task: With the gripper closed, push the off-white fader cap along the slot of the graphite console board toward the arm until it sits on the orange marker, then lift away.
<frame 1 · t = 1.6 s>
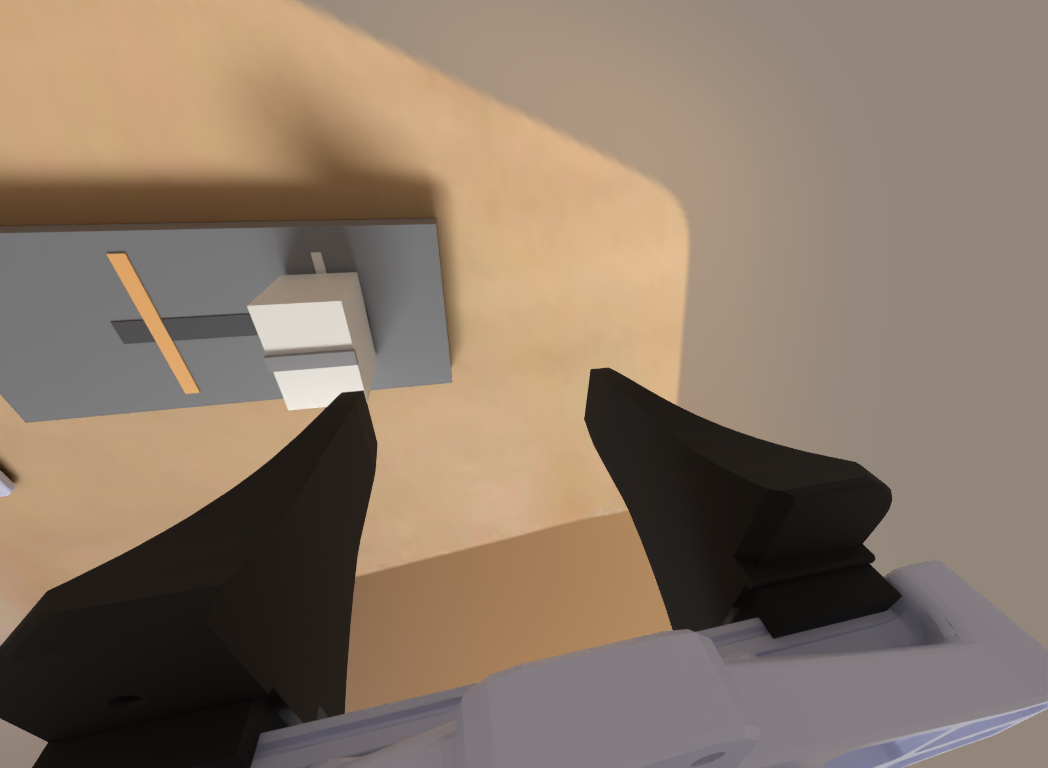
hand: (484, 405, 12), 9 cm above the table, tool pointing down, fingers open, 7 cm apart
console: (239, 313, 18), on the table
fader: (323, 340, 16), point 4 cm above the table, slide at 0.0 cm
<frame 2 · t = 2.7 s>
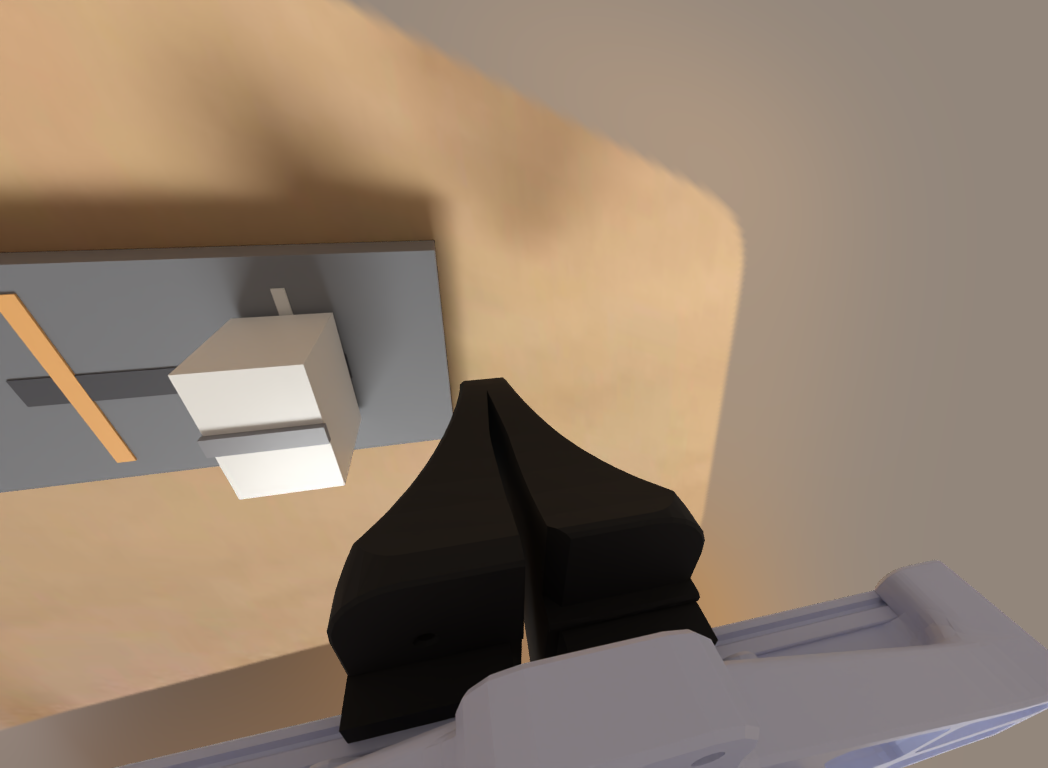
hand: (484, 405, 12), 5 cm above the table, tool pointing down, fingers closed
console: (185, 360, 14), on the table
fader: (287, 403, 12), point 4 cm above the table, slide at 0.0 cm
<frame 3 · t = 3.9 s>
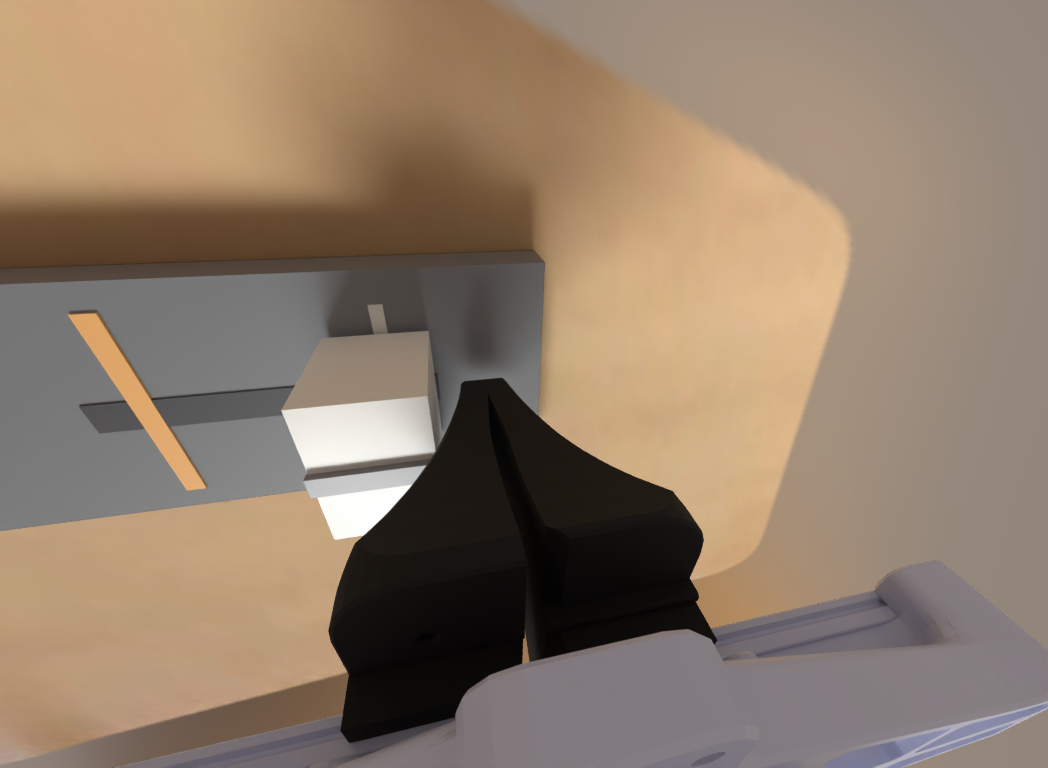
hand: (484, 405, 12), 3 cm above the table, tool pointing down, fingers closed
console: (260, 379, 13), on the table
fader: (383, 432, 11), point 4 cm above the table, slide at 0.1 cm, touching gripper
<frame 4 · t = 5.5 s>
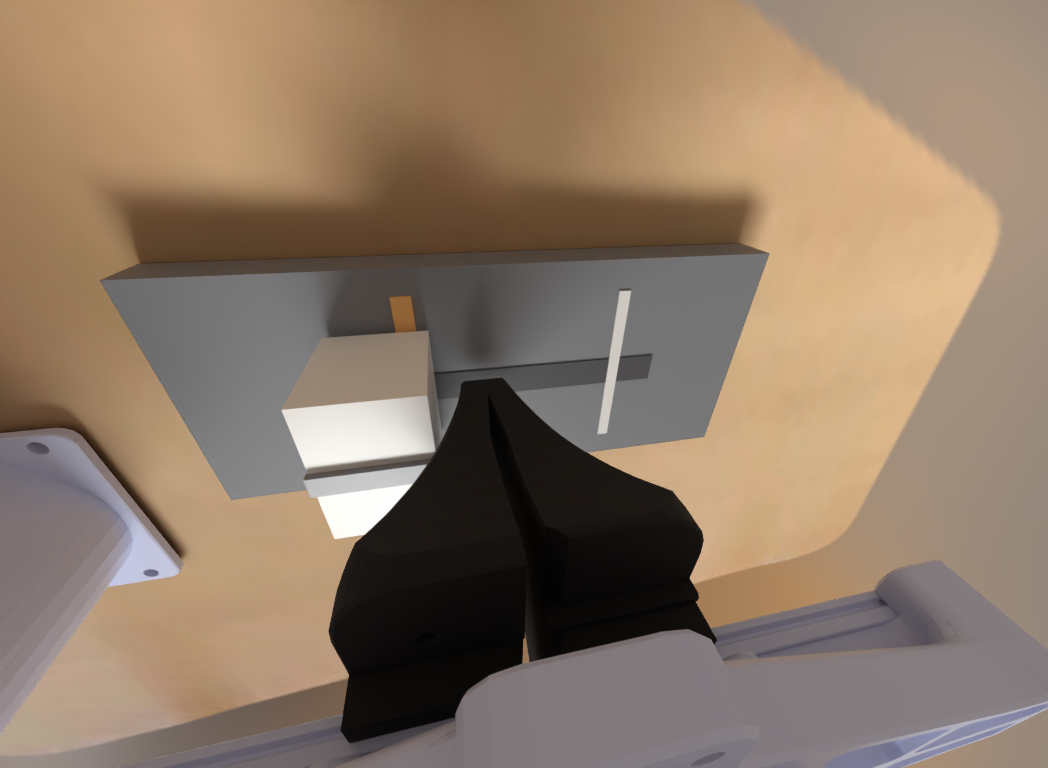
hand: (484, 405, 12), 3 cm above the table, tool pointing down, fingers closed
console: (485, 360, 14), on the table
fader: (383, 432, 11), point 4 cm above the table, slide at 7.8 cm, touching gripper
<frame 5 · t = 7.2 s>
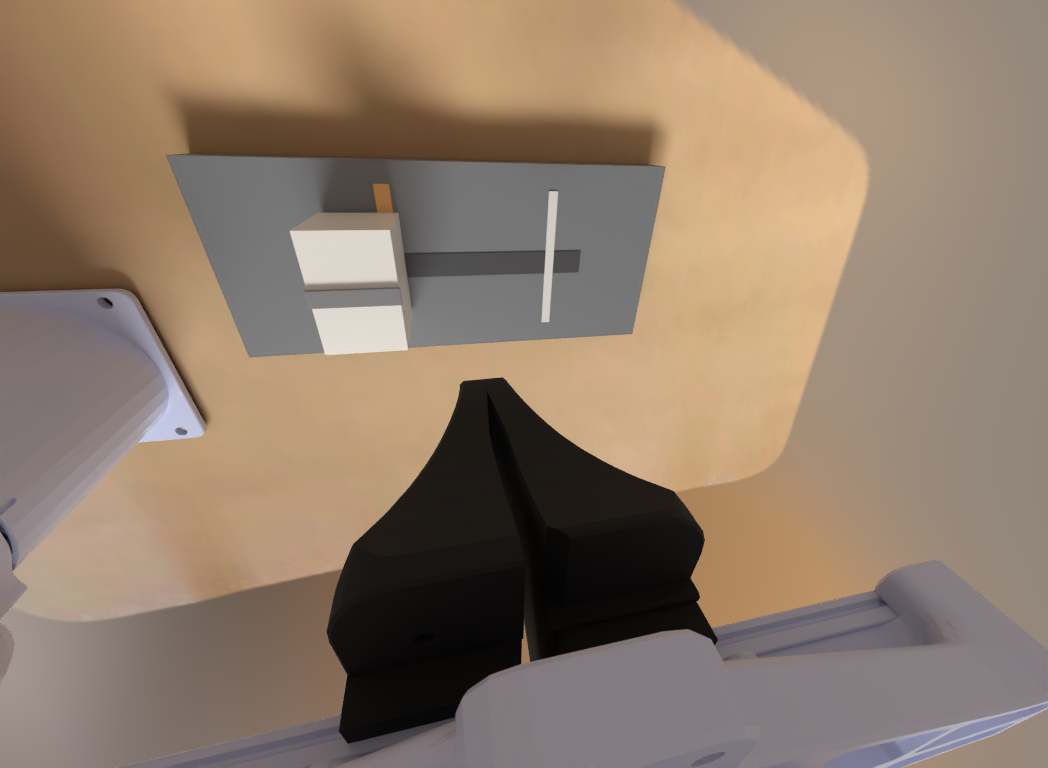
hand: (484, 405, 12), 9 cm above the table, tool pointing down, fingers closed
console: (450, 256, 18), on the table
fader: (362, 282, 15), point 4 cm above the table, slide at 8.0 cm
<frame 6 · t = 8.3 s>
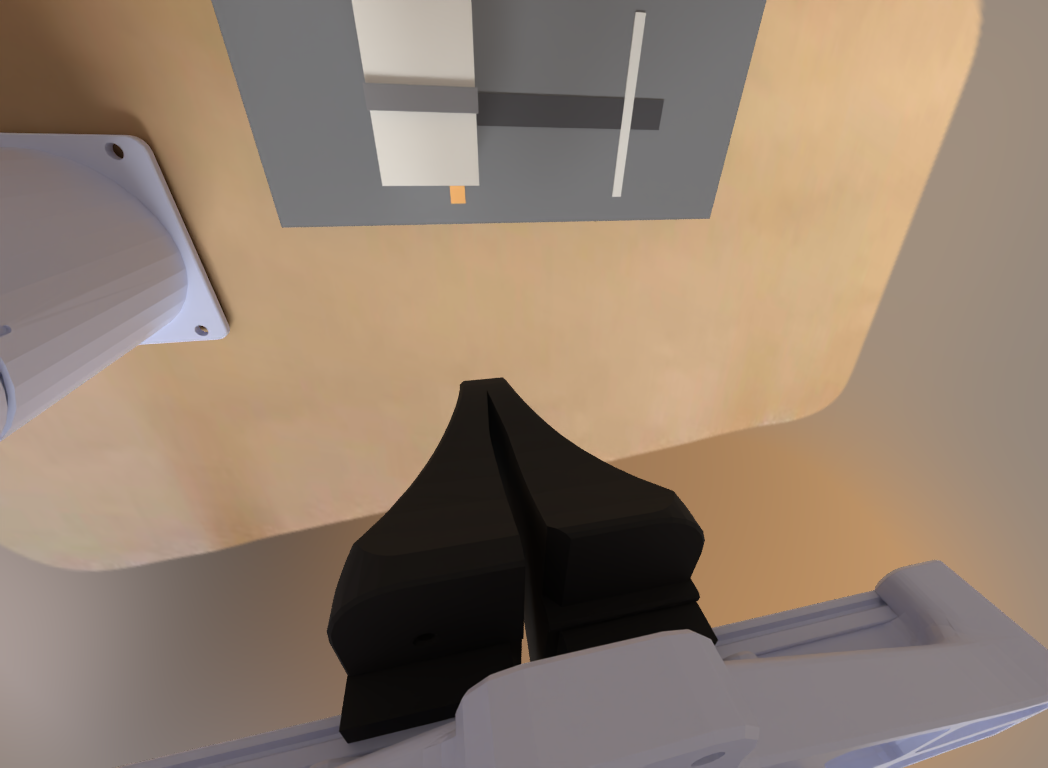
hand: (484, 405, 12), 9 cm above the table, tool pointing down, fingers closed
console: (510, 113, 16), on the table
fader: (424, 103, 12), point 4 cm above the table, slide at 8.0 cm
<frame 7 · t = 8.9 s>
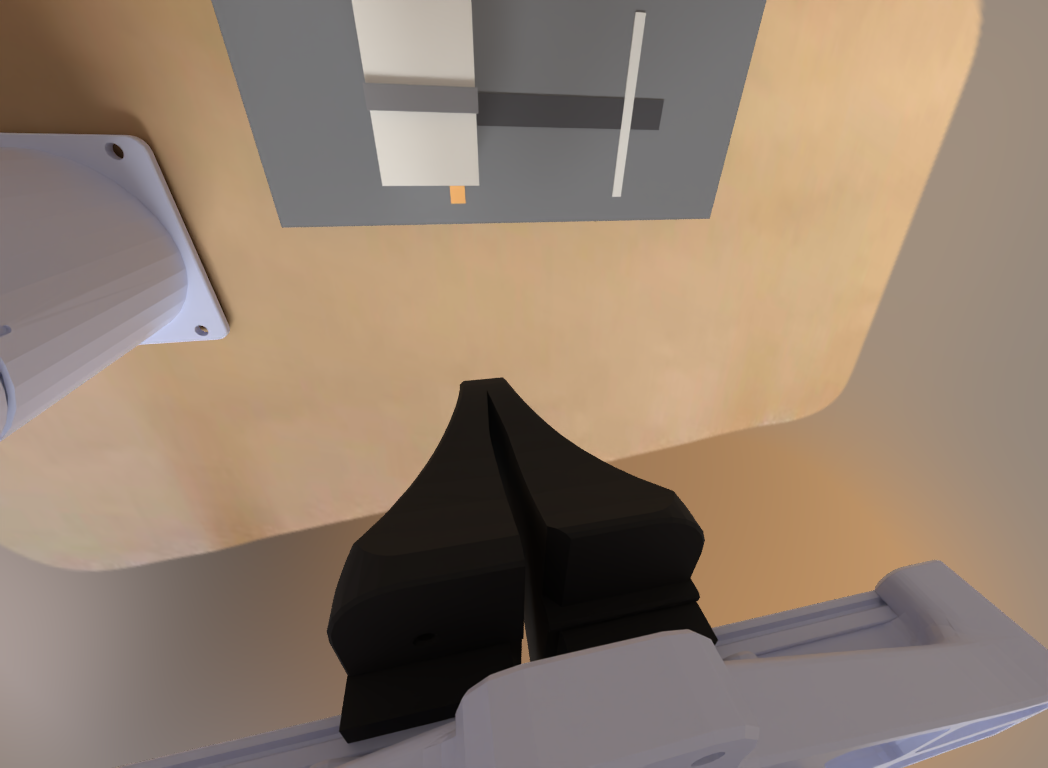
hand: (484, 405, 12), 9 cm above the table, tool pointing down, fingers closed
console: (510, 113, 16), on the table
fader: (424, 103, 12), point 4 cm above the table, slide at 8.0 cm
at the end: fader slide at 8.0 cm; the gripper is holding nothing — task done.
